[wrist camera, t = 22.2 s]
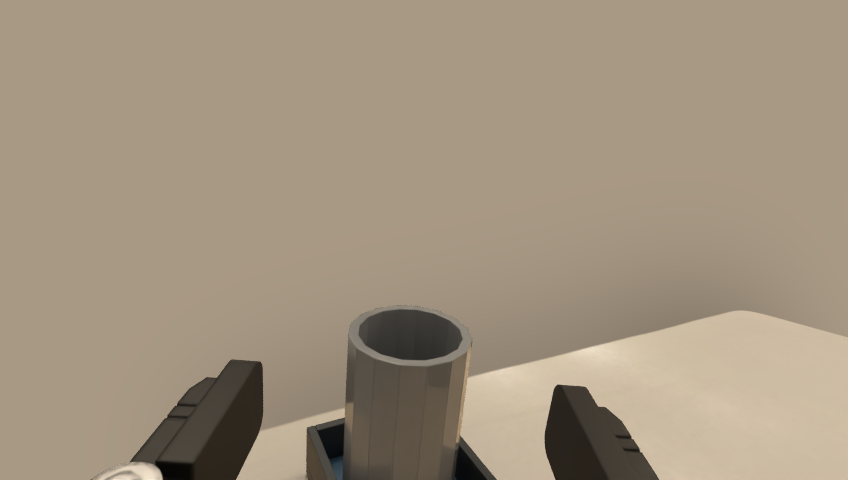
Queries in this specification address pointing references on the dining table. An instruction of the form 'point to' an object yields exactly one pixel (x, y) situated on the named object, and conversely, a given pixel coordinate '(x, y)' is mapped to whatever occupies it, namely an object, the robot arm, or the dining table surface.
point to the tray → (329, 449)
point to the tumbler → (404, 394)
